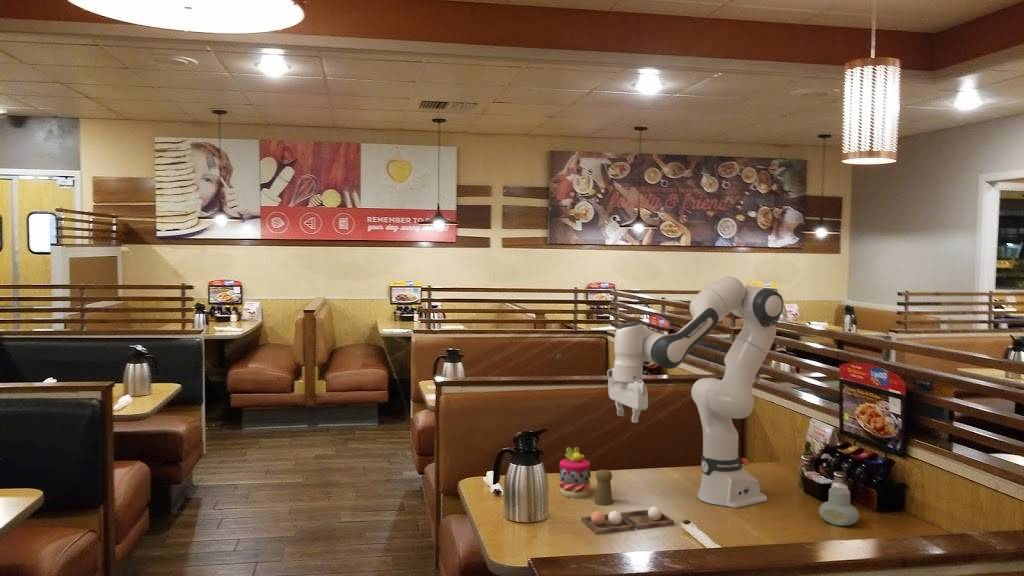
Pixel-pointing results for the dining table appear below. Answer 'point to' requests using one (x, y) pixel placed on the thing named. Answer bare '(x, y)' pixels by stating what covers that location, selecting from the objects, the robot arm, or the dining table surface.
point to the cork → (603, 488)
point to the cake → (574, 475)
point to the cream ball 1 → (614, 517)
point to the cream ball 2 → (654, 513)
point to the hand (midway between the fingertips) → (627, 419)
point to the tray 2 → (646, 520)
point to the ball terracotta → (598, 518)
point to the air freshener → (839, 508)
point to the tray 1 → (607, 525)
